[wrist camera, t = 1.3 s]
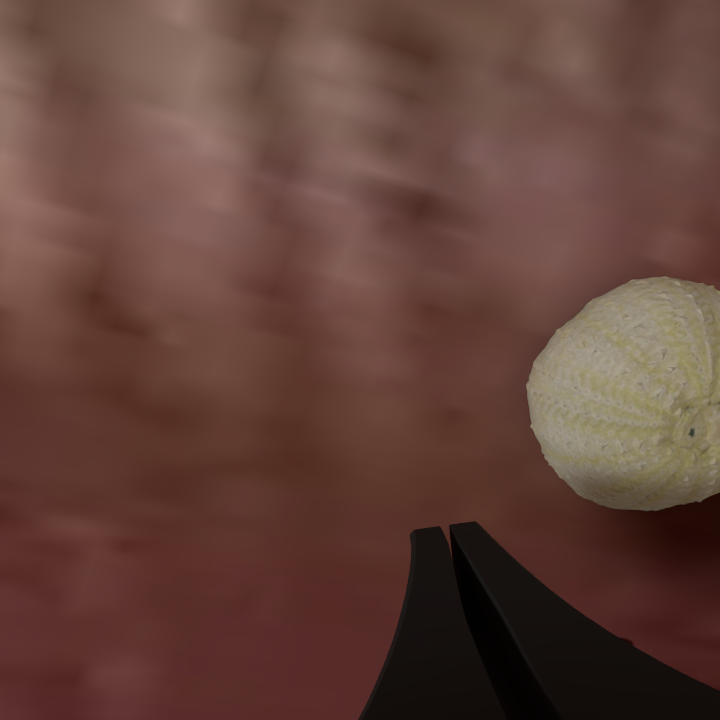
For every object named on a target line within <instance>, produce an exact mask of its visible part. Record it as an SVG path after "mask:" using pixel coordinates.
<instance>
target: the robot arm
mask: <svg viewBox="0 0 720 720" xmlns="http://www.w3.org/2000/svg"><path fill="white" fill-rule="evenodd" d="M449 529H450V539H451V549H452V558H451V553H450V549H449V544H448V542H447V539H446V537H445V535H444V533H443V531H442V529H441V527H440V526H438V527H430V528H423V529H416V530H414V531H413V532H412V533H411V534H410V540H411V564H410V572H409V578H408V584H407V589H406V594H405V599H404V603H403V606H402V610H401V614H400V618H399V622H398V625H397V629H396V632H395V635H394V638H393V641H392V644H391V647H390V650H389V652H388V655H387V658H386V660H385V663H384V665H383V668H382V670H381V672H380V675H379V677H378V680H377V682H376V684H375V687H374V689H373V691H372V693H371V695H370V698H369V700H368V702H367V704H366V706H365V708H364V710H363V712H362V713H361V715H360V717H359V719H358V720H720V691H718V690H716V689H714V688H712V687H710V686H708V685H706V684H704V683H702V682H699V681H697V680H695V679H693V678H691V677H689V676H687V675H685V674H683V673H681V672H679V671H677V670H675V669H674V668H672V667H670V666H668V665H666V664H664V663H662V662H660V661H658V660H657V659H655V658H653V657H651V656H650V655H648V654H646V653H644V652H643V651H641V650H639V649H637V648H635V647H634V646H632V645H630V644H628V643H627V642H625V641H623V640H622V639H620V638H618V637H617V636H615V635H614V634H612V633H610V632H609V631H607V630H606V629H604V628H603V627H601V626H600V625H598V624H597V623H595V622H594V621H592V620H591V619H589V618H588V617H586V616H585V615H583V614H582V613H580V612H579V611H577V610H576V609H575V608H573V607H572V606H571V605H569V604H568V603H567V602H565V601H564V600H563V599H562V598H560V597H559V596H558V595H556V594H555V593H554V592H553V591H551V590H550V589H549V588H548V587H546V586H545V585H544V584H543V583H542V582H540V581H539V580H538V579H537V578H536V577H534V576H533V575H532V574H531V573H530V572H529V571H528V570H526V569H525V568H524V567H523V566H522V565H521V564H520V563H518V562H517V561H516V560H515V559H514V558H513V557H512V556H511V555H510V554H509V553H508V552H507V551H506V550H505V549H503V548H502V547H501V546H500V545H499V544H498V543H497V542H496V541H495V540H494V539H493V538H492V537H491V536H490V535H489V534H488V533H487V532H486V531H485V530H484V529H483V528H482V527H481V526H480V525H479V524H478V523H477V522H475V521H474V522H467V523H459V524H452V525H449ZM452 560H453V562H452Z"/></svg>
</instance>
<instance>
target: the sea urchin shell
mask: <svg viewBox="0 0 720 720" xmlns="http://www.w3.org/2000/svg"><path fill="white" fill-rule="evenodd" d="M526 386H527V397H528V403H529V410H530V419H531V422H532V424H531V426H530V427H531V428H532V429H533V430H534V433H535V436H536V438H537V439H538V441H539V443H540V445H541V447H542V453H543V454H544V455H545V459H546V460H547V461H548V462H549V466H552V467H553V468H554V470H555V472H557V474H558V476H559V477H560V478H562V479H564V480H565V481H566V482H567V484H568V485H569V486H570V487H571V488H572V489H573V490H574V491H575V492H576V493H577V494H578V495H579V496H583V498H584V499H589V500H590V501H593V502H595V503H597V504H599V505H600V506H602V505H604V506H606V507H608V508H615V509H631V510H644V511H646V512H647V511H650V510H654V511H657V510H660V509H665V508H668V507H672V506H675V505H679V504H683V505H685V504H687V503H692V502H695V501H697V502H701V501H702V500H704V499H706V498H707V497H709V496H712V495H714V494H717V493H720V291H718V290H716V289H715V287H714V286H706V285H705V284H704V283H695V282H691V281H683V280H680V279H678V278H668V277H666V276H664V277H654V278H647V279H639V280H630V281H629V282H628V283H626V284H623V285H621V286H619V287H617V288H615V289H613V290H612V291H610V292H608V293H606V294H604V295H602V296H600V297H598V298H594V299H592V301H591V302H588V304H587V305H586V306H585V307H584V308H583V309H582V311H580V312H579V313H578V314H577V315H576V316H575V317H574V318H573V319H571V320H570V321H568V322H566V323H565V325H564V326H563V327H561V328H559V329H557V330H556V333H555V334H554V335H553V336H552V338H551V339H550V340H549V342H548V344H547V346H546V347H545V348H544V350H543V351H542V352H541V353H540V354H539V355H538V356H537V358H536V359H535V361H534V362H533V367H532V370H531V373H530V376H529V381H528V382H527V384H526Z"/></svg>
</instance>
